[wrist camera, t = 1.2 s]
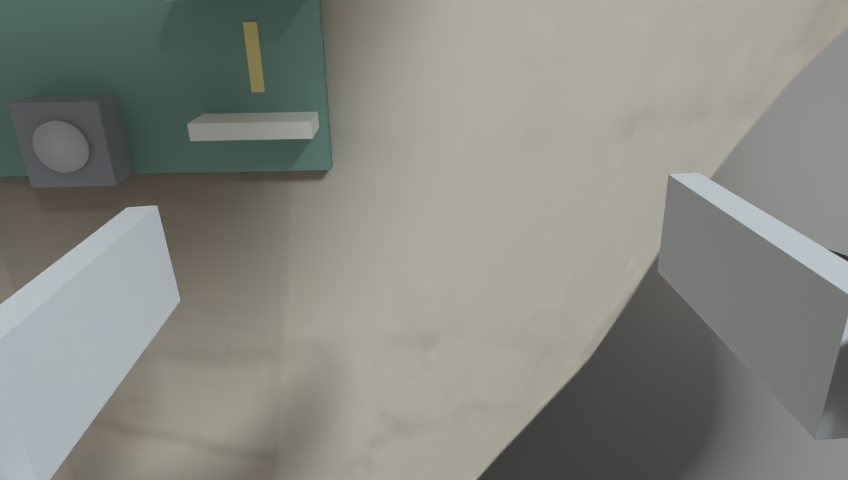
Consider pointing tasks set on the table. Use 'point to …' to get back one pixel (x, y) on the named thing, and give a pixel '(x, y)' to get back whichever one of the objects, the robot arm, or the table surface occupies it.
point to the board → (160, 89)
